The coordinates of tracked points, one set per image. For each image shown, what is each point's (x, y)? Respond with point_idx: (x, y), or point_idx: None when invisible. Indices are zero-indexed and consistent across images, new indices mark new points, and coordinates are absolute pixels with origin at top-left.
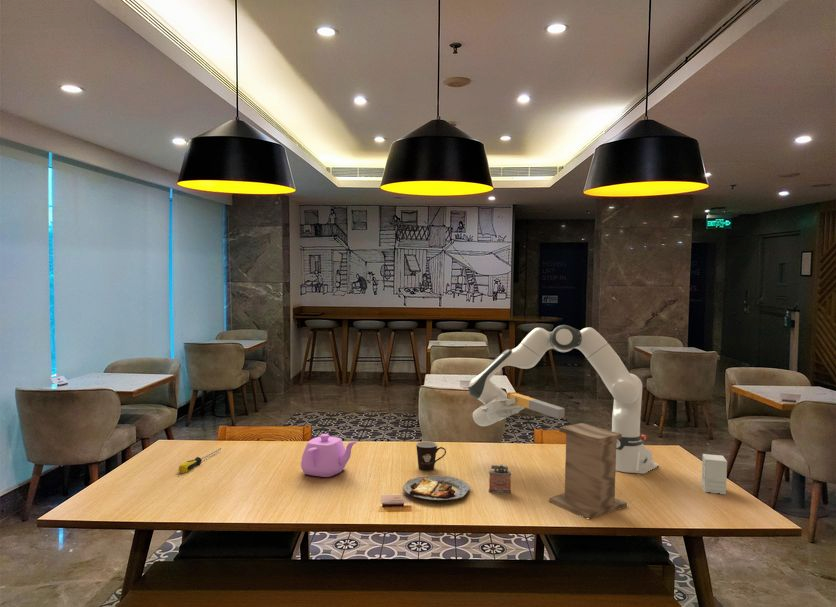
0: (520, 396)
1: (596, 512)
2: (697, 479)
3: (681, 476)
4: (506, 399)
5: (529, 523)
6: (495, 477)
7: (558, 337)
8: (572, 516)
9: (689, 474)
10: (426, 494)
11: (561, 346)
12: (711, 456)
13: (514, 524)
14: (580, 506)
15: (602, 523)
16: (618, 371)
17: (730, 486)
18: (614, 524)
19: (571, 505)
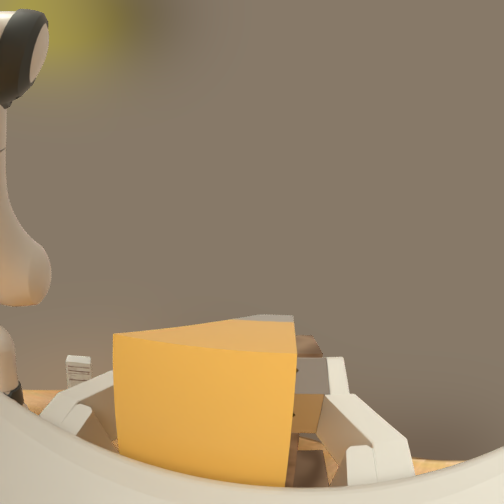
0: (268, 329)
1: (301, 451)
2: (45, 402)
3: (37, 410)
4: (361, 485)
5: (418, 463)
6: None
7: (43, 41)
8: (336, 465)
9: (26, 403)
10: None
11: (24, 75)
12: (76, 359)
13: (442, 462)
14: (307, 465)
15: (312, 446)
16: (17, 220)
17: (61, 390)
18: (299, 441)
19: (319, 471)
